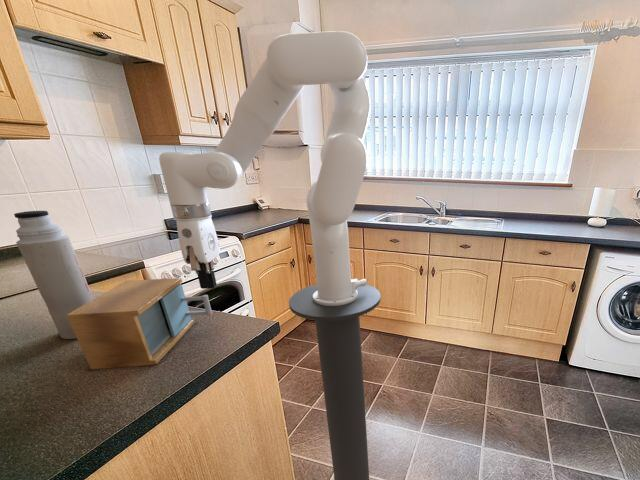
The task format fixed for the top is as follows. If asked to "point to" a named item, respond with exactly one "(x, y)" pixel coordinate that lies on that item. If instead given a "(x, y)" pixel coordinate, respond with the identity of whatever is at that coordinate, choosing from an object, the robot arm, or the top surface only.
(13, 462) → the top surface
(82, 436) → the top surface
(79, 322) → the cabinet
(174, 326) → the blue door
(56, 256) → the thermos bottle
